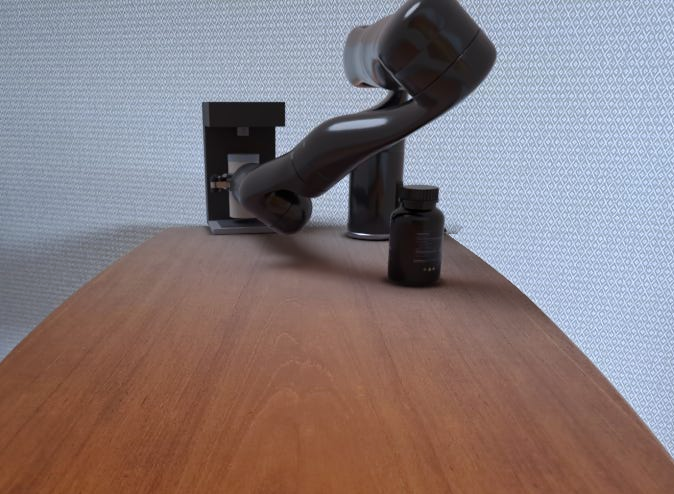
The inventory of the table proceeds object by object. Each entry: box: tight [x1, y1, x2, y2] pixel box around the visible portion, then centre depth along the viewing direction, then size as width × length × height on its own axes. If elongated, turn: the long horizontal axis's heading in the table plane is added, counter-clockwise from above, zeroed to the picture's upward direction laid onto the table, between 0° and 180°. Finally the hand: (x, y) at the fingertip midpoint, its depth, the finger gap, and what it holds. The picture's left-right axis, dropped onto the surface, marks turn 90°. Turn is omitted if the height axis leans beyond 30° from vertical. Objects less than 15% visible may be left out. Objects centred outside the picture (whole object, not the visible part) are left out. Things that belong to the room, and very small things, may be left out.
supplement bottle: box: [386, 184, 446, 288], centre depth 86 cm, size 7×7×12 cm
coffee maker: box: [201, 101, 286, 235], centre depth 123 cm, size 13×13×22 cm
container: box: [228, 153, 259, 218], centre depth 123 cm, size 6×6×11 cm
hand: (242, 178), depth 125 cm, fingers closed on container, 5 cm apart
